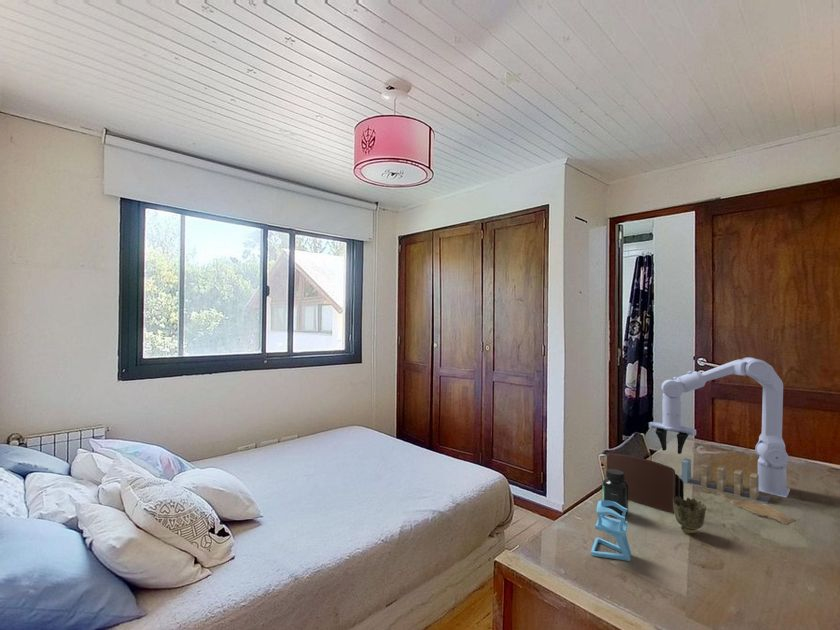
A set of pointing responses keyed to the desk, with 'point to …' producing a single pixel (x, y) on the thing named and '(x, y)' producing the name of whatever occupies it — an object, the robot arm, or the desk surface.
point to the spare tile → (686, 470)
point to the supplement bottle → (615, 490)
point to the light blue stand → (612, 531)
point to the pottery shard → (763, 511)
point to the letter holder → (648, 481)
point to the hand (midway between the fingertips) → (672, 451)
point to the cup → (689, 514)
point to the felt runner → (728, 490)
